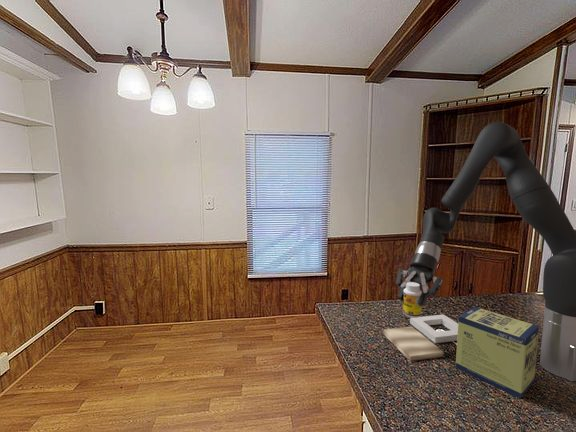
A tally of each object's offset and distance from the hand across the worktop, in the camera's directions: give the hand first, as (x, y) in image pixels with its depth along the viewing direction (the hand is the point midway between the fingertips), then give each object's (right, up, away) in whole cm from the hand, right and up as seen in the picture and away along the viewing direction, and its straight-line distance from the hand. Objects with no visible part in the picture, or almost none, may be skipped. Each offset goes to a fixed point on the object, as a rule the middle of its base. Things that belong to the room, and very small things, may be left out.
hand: (410, 302), depth 92 cm
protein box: (+17, -16, -12) cm, 27 cm away
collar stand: (+15, -13, +11) cm, 23 cm away
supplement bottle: (+1, -5, +2) cm, 5 cm away
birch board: (+1, -14, +3) cm, 15 cm away
